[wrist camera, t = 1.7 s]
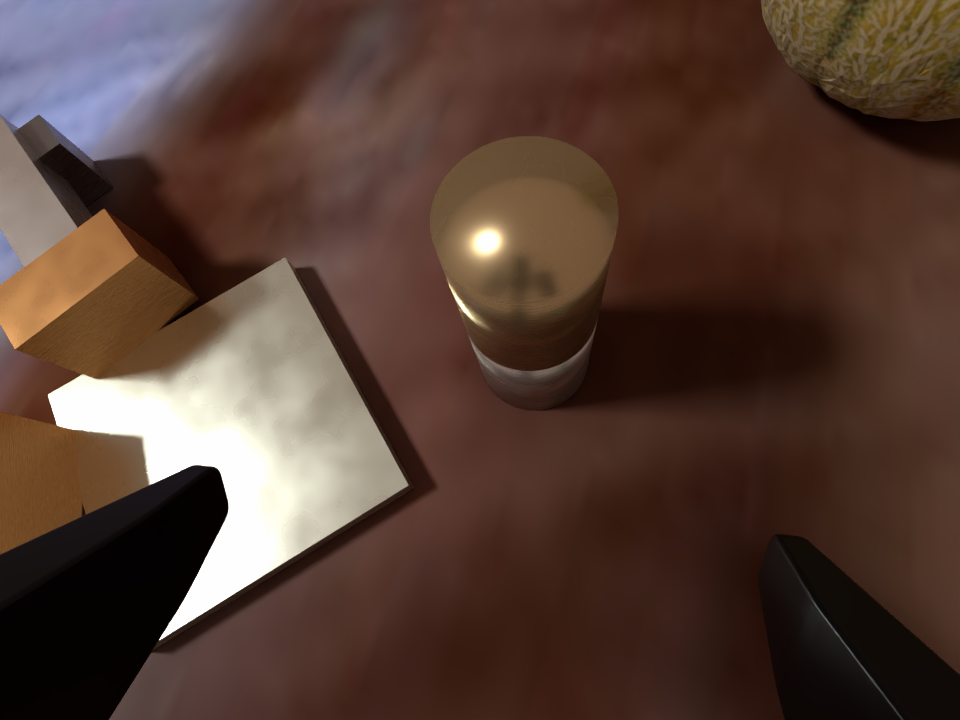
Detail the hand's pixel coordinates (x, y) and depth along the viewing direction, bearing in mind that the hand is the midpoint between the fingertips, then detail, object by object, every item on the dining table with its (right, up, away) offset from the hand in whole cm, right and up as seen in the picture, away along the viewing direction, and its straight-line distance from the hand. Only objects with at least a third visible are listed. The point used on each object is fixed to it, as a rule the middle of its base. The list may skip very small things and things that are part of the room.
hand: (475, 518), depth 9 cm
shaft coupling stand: (-19, +1, +17) cm, 26 cm away
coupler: (+2, +3, +15) cm, 15 cm away
